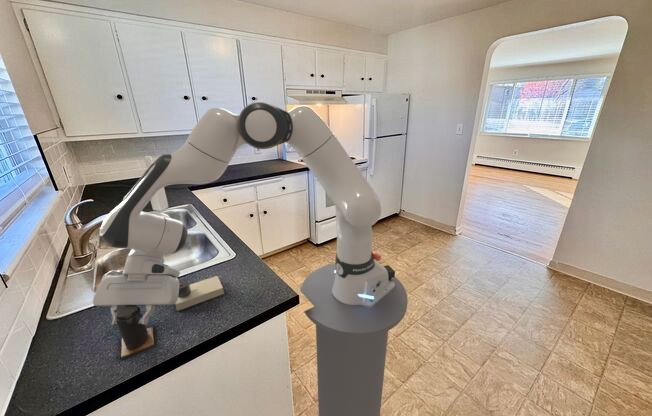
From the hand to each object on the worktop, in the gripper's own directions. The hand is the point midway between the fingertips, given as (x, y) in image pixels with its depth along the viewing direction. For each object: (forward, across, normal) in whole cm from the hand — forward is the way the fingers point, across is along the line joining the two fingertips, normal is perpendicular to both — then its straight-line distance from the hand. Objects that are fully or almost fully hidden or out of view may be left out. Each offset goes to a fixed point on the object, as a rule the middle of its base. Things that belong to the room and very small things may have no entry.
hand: (129, 324), depth 68 cm
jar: (+4, 0, +5) cm, 6 cm away
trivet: (+4, 0, +5) cm, 7 cm away
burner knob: (-9, +5, +15) cm, 18 cm away
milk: (-65, -48, +75) cm, 111 cm away
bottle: (-72, -55, +82) cm, 122 cm away
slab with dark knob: (-9, +8, +18) cm, 22 cm away
